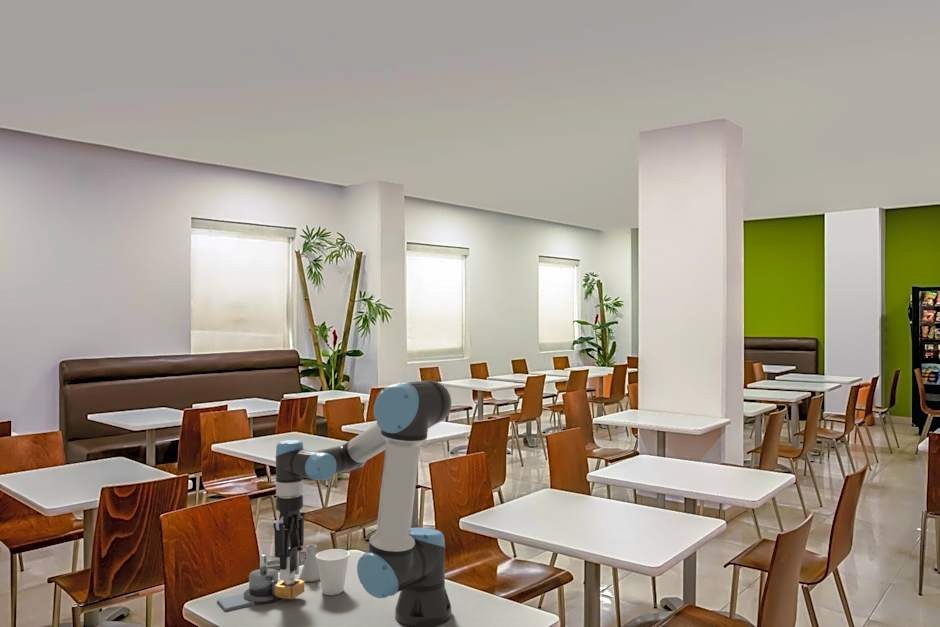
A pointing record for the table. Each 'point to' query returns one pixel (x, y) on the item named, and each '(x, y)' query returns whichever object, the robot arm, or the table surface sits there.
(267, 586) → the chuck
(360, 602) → the table surface
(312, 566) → the flask
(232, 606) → the key mat
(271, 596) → the dark grey disc
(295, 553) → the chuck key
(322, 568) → the cup
